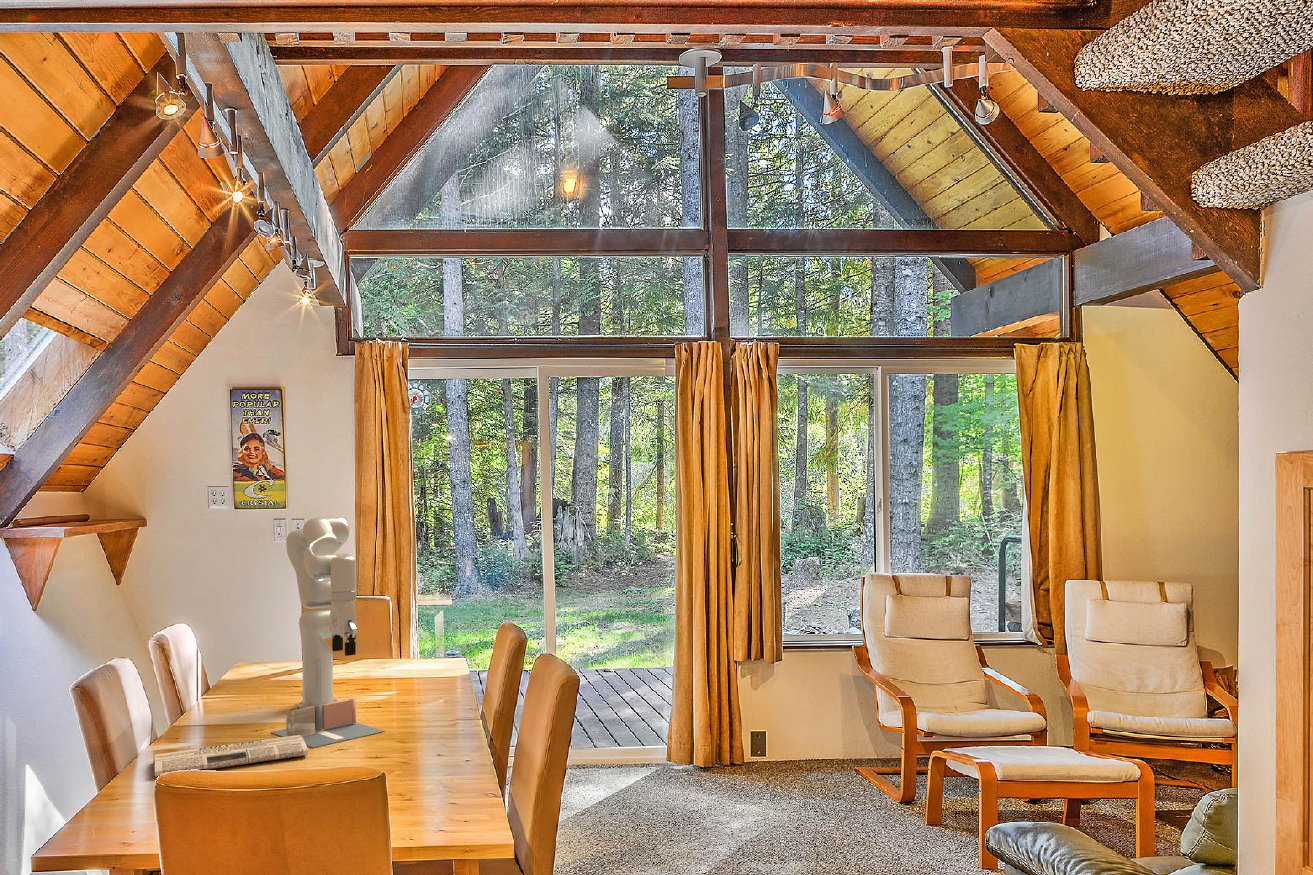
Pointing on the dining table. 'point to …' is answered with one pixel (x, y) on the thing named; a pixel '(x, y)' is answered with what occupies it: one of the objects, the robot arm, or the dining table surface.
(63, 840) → the dining table surface
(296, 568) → the robot arm
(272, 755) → the newspaper
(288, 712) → the fence fixed
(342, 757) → the dining table surface
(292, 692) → the dining table surface
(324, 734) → the card
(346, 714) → the fence panel
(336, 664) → the dining table surface
